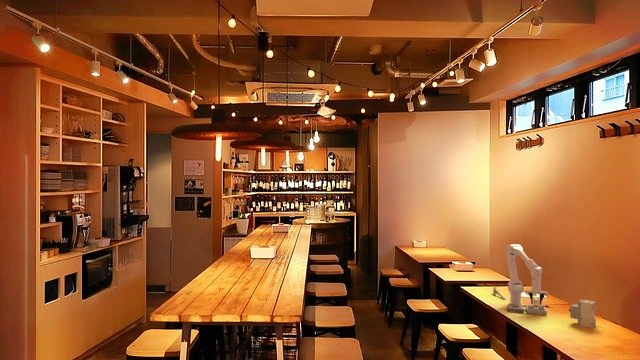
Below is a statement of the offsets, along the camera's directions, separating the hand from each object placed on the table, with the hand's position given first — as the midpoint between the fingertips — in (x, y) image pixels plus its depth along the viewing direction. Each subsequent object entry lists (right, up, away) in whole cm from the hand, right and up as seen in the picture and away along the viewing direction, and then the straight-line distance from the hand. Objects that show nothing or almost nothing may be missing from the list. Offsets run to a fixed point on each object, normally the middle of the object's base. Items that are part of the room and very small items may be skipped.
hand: (536, 304), depth 330 cm
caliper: (-9, -6, +45) cm, 46 cm away
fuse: (0, -5, 0) cm, 5 cm away
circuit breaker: (+16, -6, -27) cm, 32 cm away
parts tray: (0, -5, 0) cm, 5 cm away
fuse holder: (-12, -5, +4) cm, 14 cm away
